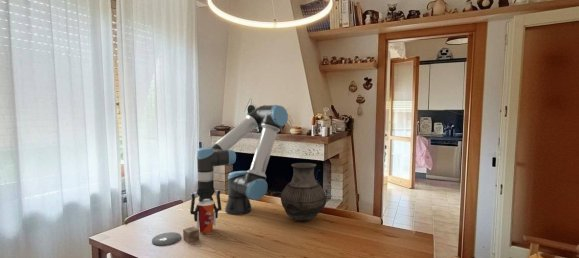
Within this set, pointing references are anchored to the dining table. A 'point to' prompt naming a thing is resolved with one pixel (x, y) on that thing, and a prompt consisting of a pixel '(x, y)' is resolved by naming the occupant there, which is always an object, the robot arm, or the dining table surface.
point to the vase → (303, 193)
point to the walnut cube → (190, 234)
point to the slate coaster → (166, 239)
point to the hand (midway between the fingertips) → (206, 226)
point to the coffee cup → (206, 215)
